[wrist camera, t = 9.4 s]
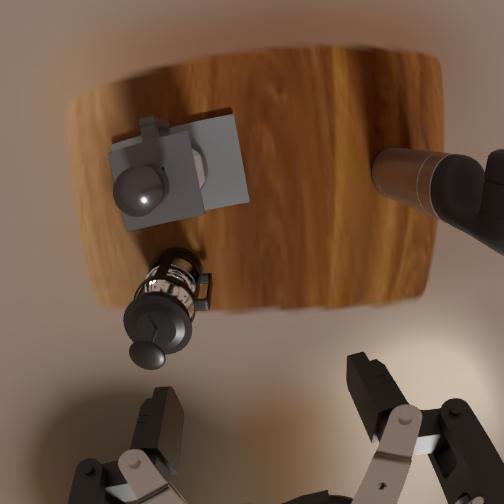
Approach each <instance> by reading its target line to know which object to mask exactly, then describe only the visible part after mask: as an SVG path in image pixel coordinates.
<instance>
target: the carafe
mask: <svg viewBox="0 0 504 504" xmlns="http://www.w3.org/2000/svg"><path fill="white" fill-rule="evenodd" d="M138 121H139V126H140V132H141V137H142V143H138V144H135V145H132V146H128V147H125V148H122V149H118V150H115V151H112V152H109V153H108V156H109V161H110V166H111V170H112V175H113V179H114V183H115V181H116V179H117V177H118V176H119V175H120V174H121V173H122V172H123V171H124V170H126V169H128V168H131V167H135V166H139V165H143V164H154V165H157V166H159V167H160V168H162V169H163V170H164V171H165V173H166V174H167V176H168V179H169V192H168V195H167V197H166V198H165V200H164V201H163V202H162V203H161V204H160V205H158V206H157V207H156V208H155V209H154V210H153V211H152V212H150V213H149V214H147V215H145V216H141V217H133V216H129V215H127V214H125V213H124V212H122V211H121V212H122V216H123V219H124V223H125V227H126V230H127V232H128V231H132V230H136V229H141V228H145V227H149V226H154V225H158V224H163V223H167V222H172V221H177V220H181V219H186V218H191V217H196V216H201V215H205V209H204V205H203V200H202V195H201V191H200V190H201V189H202V188H203V186H204V184H205V182H206V180H207V175H208V165H207V161H206V159H205V157H204V155H203V153H202V152H201V151H200V150H199V149H198V148H197V147H196V146H194V145H192V144H191V141H190V136H189V131H184V132H180V133H176V134H172V135H171V129H170V124H169V121H167V120H164V119H162V118H159V117H157V116H154V115H152V116H149V117H145V118H142V119H138Z"/></svg>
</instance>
